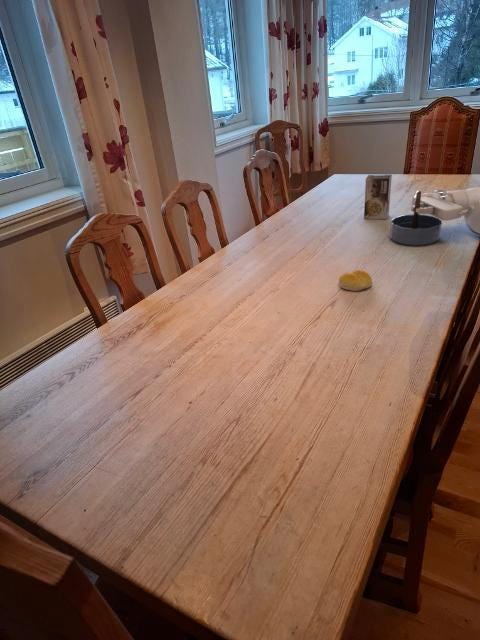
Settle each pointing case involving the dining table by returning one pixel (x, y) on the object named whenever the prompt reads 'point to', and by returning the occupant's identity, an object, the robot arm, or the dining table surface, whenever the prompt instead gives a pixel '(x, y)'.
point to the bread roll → (355, 280)
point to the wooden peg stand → (417, 205)
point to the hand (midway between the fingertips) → (414, 210)
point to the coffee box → (377, 196)
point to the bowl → (415, 230)
